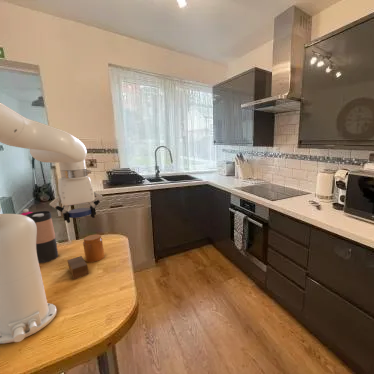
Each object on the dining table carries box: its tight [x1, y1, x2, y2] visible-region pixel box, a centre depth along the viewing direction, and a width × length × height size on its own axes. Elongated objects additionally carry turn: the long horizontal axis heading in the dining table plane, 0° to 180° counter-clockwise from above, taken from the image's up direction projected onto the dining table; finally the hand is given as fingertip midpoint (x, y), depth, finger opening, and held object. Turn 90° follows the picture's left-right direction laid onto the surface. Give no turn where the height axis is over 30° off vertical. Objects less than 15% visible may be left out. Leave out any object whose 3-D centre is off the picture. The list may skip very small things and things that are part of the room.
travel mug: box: [25, 210, 59, 264], centre depth 89 cm, size 8×8×20 cm
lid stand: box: [67, 255, 90, 280], centre depth 82 cm, size 9×4×4 cm, turn 48°
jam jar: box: [82, 233, 105, 263], centre depth 92 cm, size 7×7×10 cm
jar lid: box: [67, 207, 92, 219], centre depth 83 cm, size 7×7×2 cm
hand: (80, 219), depth 84 cm, fingers closed on jar lid, 7 cm apart
